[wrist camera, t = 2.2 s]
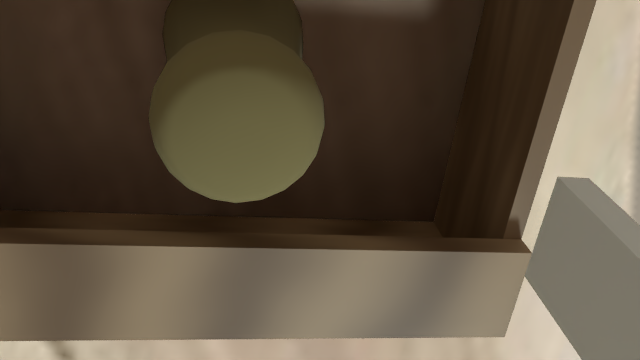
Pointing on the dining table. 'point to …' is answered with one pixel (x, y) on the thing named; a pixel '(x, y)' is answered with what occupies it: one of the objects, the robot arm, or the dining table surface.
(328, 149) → the dining table surface
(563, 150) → the dining table surface
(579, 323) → the robot arm
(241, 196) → the cork
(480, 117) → the walnut box
